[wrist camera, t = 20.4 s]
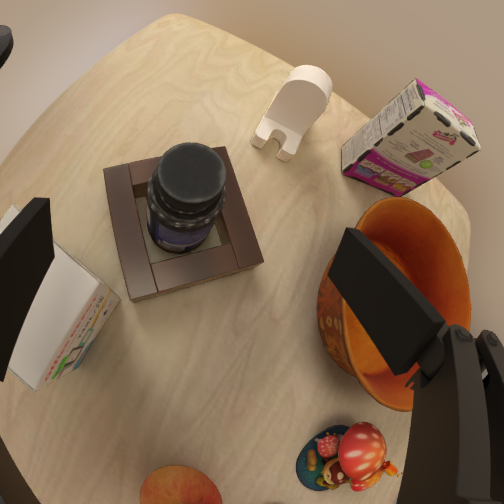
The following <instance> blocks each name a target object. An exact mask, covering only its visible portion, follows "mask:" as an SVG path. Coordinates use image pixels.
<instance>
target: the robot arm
mask: <svg viewBox="0 0 504 504" xmlns="http://www.w3.org/2000/svg"><path fill="white" fill-rule="evenodd" d="M54 258H55V253H54V245H53V236H52V225H51V213H50V198H36V197H34V198H33V199H32V200H31V201H30V202H29V203H28V204H27V205H26V206H25V207H24V208H23V209H22V210H21V212H20V213H19V214H18V215H17V216H16V217H15V218H14V219H13V220H12V221H11V222H10V224H9V225H8V226H7V227H6V228H5V229H4V230H3V232H2V233H1V234H0V381H1V382H3V381H4V378H5V374H6V371H7V368H8V365H9V362H10V359H11V356H12V353H13V350H14V347H15V345H16V342H17V339H18V337H19V334H20V331H21V329H22V326H23V324H24V321H25V319H26V317H27V314H28V312H29V310H30V307H31V305H32V303H33V301H34V298H35V296H36V294H37V292H38V290H39V288H40V285H41V283H42V281H43V279H44V277H45V275H46V273H47V271H48V269H49V267H50V266H51V264H52V262H53V260H54ZM327 276H328V277H329V278H330V280H331V281H332V283H333V284H334V285H335V287H336V288H337V290H338V291H339V293H340V294H341V296H342V297H343V298H344V300H345V301H346V303H347V304H348V306H349V307H350V309H351V310H352V312H353V313H354V315H355V316H356V318H357V319H358V320H359V322H360V323H361V325H362V326H363V328H364V329H365V331H366V332H367V334H368V335H369V337H370V339H371V340H372V342H373V343H374V345H375V346H376V348H377V349H378V351H379V352H380V354H381V355H382V357H383V358H384V360H385V362H386V363H387V365H388V366H389V368H390V369H391V371H392V373H393V374H394V376H397V375H401V374H404V373H408V371H409V370H410V369H411V368H412V367H413V365H414V364H415V363H416V362H417V364H418V365H419V366H420V367H419V368H418V369H417V371H416V372H415V373H414V374H413V375H412V377H411V378H410V379H409V380H408V381H407V382H406V384H405V387H408V386H409V384H410V383H411V382H414V384H413V385H412V386H411V388H410V389H412V390H414V396H413V408H412V418H411V427H410V434H409V442H408V448H407V454H406V460H405V466H404V471H403V476H402V481H401V486H400V490H399V494H398V498H397V503H396V504H504V347H503V345H502V343H501V342H500V340H499V339H498V337H497V336H496V334H495V333H493V332H492V331H488V330H483V331H482V332H481V334H480V335H479V336H478V338H477V339H476V338H473V336H472V335H471V334H470V333H469V332H468V331H467V330H466V329H465V328H464V327H462V326H460V325H457V324H452V325H451V326H450V327H449V326H448V324H447V323H446V320H445V319H444V318H443V317H442V316H441V314H440V313H439V312H438V311H437V310H436V309H435V308H434V306H433V305H432V304H431V303H430V302H429V301H428V300H427V299H426V298H425V296H424V295H423V294H422V293H421V292H420V291H419V290H418V289H417V288H416V287H415V286H414V285H413V283H412V282H411V281H410V280H409V279H408V278H407V277H406V276H405V275H404V274H403V273H402V272H401V271H400V270H399V269H398V268H397V267H396V266H395V265H394V264H393V263H392V262H391V261H390V260H389V259H388V258H387V257H386V256H385V255H384V254H383V253H382V252H381V251H380V250H379V249H378V248H377V247H376V246H375V245H374V244H373V243H372V242H371V241H370V240H369V239H368V238H367V237H366V236H365V235H364V234H363V233H362V232H361V231H360V230H359V229H353V228H347V227H346V229H345V232H344V235H343V237H342V240H341V242H340V245H339V247H338V250H337V252H336V255H335V257H334V260H333V262H332V264H331V267H330V269H329V272H328V274H327ZM485 369H487V372H488V375H487V376H486V377H485V378H484V379H483V380H482V375H481V374H482V373H483V371H484V370H485ZM0 504H41V503H40V502H39V500H38V499H37V498H36V496H35V495H34V493H33V492H32V490H31V489H30V487H29V486H28V484H27V483H26V481H25V479H24V478H23V476H22V475H21V473H20V471H19V470H18V468H17V466H16V464H15V463H14V461H13V459H12V457H11V455H10V454H9V452H8V450H7V448H6V446H5V444H4V442H3V440H2V438H1V436H0Z"/></svg>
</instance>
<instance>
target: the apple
mask: <svg viewBox="0 0 504 504" xmlns="http://www.w3.org/2000/svg"><path fill="white" fill-rule="evenodd" d="M140 503H141V504H222V499H221V495H220V493H219V491H218V489H217V487H216V486H215V484H214V483H213V482H212V481H211V480H210V479H209V478H208V477H207V476H206V475H204V474H203V473H201V472H199V471H197V470H195V469H193V468H190V467H186V466H180V465H171V466H165V467H162V468H160V469H158V470H156V471H154V472H153V473H151V474H150V475H149V476H148V477H147V478H146V480H145V481H144V483H143V485H142V487H141V491H140Z"/></svg>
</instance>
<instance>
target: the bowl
mask: <svg viewBox="0 0 504 504" xmlns="http://www.w3.org/2000/svg"><path fill="white" fill-rule="evenodd" d="M355 229H359V230H360V231H361V232H362V233H363V234H364V235H365V236H366V237H367V238H368V239H369V240H370V241H371V242H372V243H373V244H374V245H375V246H376V247H377V248H378V249H379V250H380V251H381V252H382V253H383V254H384V255H385V256H386V257H387V258H388V259H389V260H390V261H391V262H392V263H393V264H394V265H395V266H396V267H397V268H398V269H399V270H400V271H401V272H402V273H403V274H404V275H405V276H406V277H407V278H408V279H409V280H410V281H411V282H412V283H413V285H414V286H415V287H416V288H417V289H418V290H419V291H420V292H421V293H422V294H423V295H424V296H425V298H426V299H427V300H428V301H429V302H430V303H431V304H432V305H433V306H434V308H435V309H436V310H437V311H438V312H439V313H440V314H441V316H442V317H443V318H444V319H445V320H446V323H447V324H448V326H449V327H450V326H451V325H452V324H457V325H460V326H462V327H464V328H465V329H466V330H467V331H468V332H469V330H470V321H471V302H470V293H469V284H468V279H467V275H466V271H465V268H464V265H463V261H462V257H461V255H460V252H459V250H458V248H457V246H456V244H455V242H454V240H453V239H452V237H451V235H450V233H449V232H448V230H447V229H446V227H445V226H444V225H443V224H442V222H441V221H440V220H439V219H438V218H437V217H436V216H435V215H434V214H433V213H432V211H431V210H429V209H428V208H426V207H425V206H423V205H421V204H419V203H418V202H416V201H413V200H411V199H408V198H404V197H390V198H385V199H382V200H380V201H378V202H376V203H375V204H373V205H372V206H371V207H370V208H369V209H368V210H367V211H366V212H365V213H364V214H363V216H362V217H361V219H360V220H359V222H358V223H357V225H356V227H355ZM335 255H336V254H335ZM335 255H334V256H333V258H332V259H331V261H330V262H329V264H328V266H327V268H326V270H325V272H324V275H323V278H322V281H321V284H320V288H319V291H318V301H317V317H318V326H319V330H320V334H321V337H322V340H323V343H324V345H325V347H326V349H327V351H328V353H329V354H330V356H331V357H332V359H333V360H334V361H335V362H336V363H337V364H338V366H340V367H341V368H342V369H343V370H345V371H346V372H348V373H349V374H351V375H353V376H355V377H356V378H357V380H358V382H359V383H360V384H361V385H362V387H363V388H364V389H365V390H366V391H367V393H368V394H369V395H370V396H371V397H373V398H374V399H375V400H376V401H377V402H378V403H380V404H382V405H384V406H386V407H388V408H390V409H392V410H396V411H401V412H408V411H412V408H413V396H414V390H412V389H410V388H411V386H412V385H413V384H414V382H411V383H410V384H409V386H408V387H405V384H406V382H407V381H408V380H409V379H410V378H411V377H412V375H413V374H414V373H415V372H416V371H417V369H418V368H419V367H420V366H419V365H418V364H417V362H416V363H415V364H414V365H413V367H412V368H411V369H410V370H409V371H408V373H404V374H401V375H397V376H394V374H393V373H392V371H391V369H390V368H389V366H388V365H387V363H386V362H385V360H384V358H383V357H382V355H381V354H380V352H379V351H378V349H377V348H376V346H375V345H374V343H373V342H372V340H371V339H370V337H369V335H368V334H367V332H366V331H365V329H364V328H363V326H362V325H361V323H360V322H359V320H358V319H357V318H356V316H355V315H354V313H353V312H352V310H351V309H350V307H349V306H348V304H347V303H346V301H345V300H344V298H343V297H342V296H341V294H340V293H339V291H338V290H337V288H336V287H335V285H334V284H333V283H332V281H331V280H330V278H329V277H328V276H327V274H328V272H329V269H330V267H331V264H332V262H333V260H334V257H335Z"/></svg>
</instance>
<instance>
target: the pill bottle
mask: <svg viewBox="0 0 504 504" xmlns="http://www.w3.org/2000/svg"><path fill="white" fill-rule="evenodd" d="M225 181H226V167H225V164H224V162H223V160H222V159H221V157H220V156H219V155H218V153H216V152H215V151H214V150H213V149H211V148H210V147H208V146H205V145H203V144H199V143H190V142H189V143H182V144H178V145H176V146H173V147H172V148H170V149H169V150H168V151H166V152H165V153H164V155H163V156H162V157H161V159H160V161H159V163H158V167H157V168H156V169H155V170H154V172H153V173H152V175H151V177H150V178H149V181H148V184H147V191H146V200H147V225H148V230H149V233H150V235H151V237H152V239H153V240H154V242H155V243H156V244H157V245H158V246H159V247H161V248H162V249H164V250H166V251H168V252H173V253H185V252H189V251H191V250H193V249H195V248H196V247H198V246H199V245H200V244H201V243H202V242H203V241H204V239H205V238H206V236H207V234H208V232H209V231H210V229H211V227H212V226H213V224H214V222H215V221H216V219H217V217H218V216H219V214H220V213H221V211H222V209H223V207H224V203H225V199H226V198H225V196H226V189H225Z"/></svg>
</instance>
